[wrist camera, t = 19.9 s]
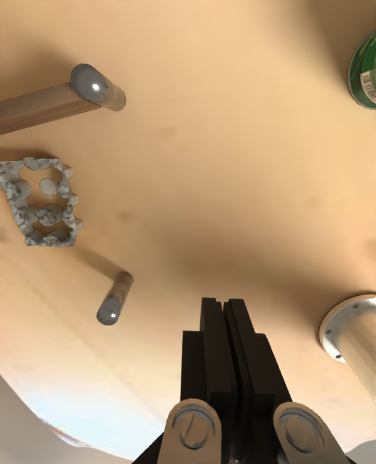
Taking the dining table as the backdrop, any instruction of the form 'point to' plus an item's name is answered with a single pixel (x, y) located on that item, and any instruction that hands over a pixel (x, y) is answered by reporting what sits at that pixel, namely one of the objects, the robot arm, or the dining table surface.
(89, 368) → the dining table surface
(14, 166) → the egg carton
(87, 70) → the gate posts
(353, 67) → the canned tomato
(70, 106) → the gate
